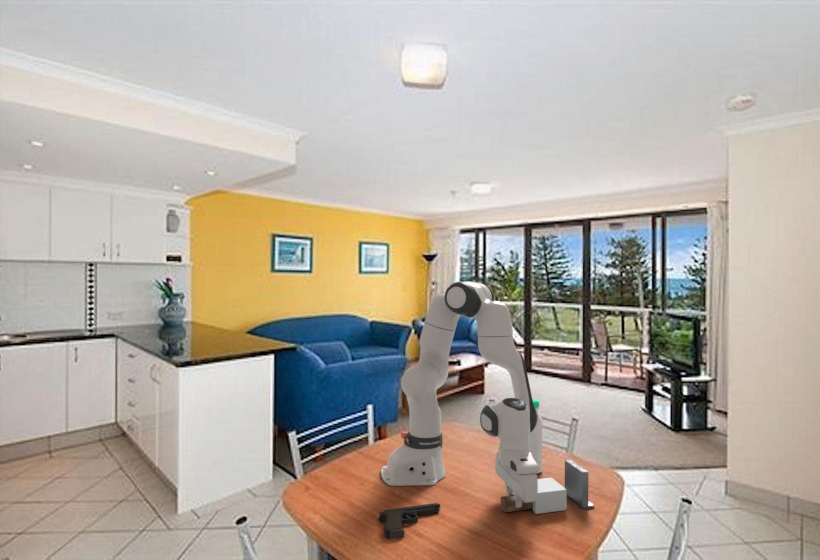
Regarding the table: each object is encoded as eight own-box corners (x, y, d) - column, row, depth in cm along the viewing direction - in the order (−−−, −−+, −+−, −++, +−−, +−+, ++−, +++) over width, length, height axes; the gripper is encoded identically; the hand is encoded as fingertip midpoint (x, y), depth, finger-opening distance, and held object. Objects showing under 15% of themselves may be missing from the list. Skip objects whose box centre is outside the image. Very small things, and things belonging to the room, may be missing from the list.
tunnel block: (535, 514, 125) (535, 493, 125) (522, 500, 133) (522, 480, 133) (566, 509, 127) (566, 489, 127) (551, 496, 135) (551, 477, 135)
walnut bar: (505, 512, 125) (505, 501, 125) (500, 506, 128) (500, 496, 128) (548, 506, 128) (548, 496, 128) (543, 501, 131) (543, 491, 131)
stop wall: (582, 509, 128) (582, 472, 128) (564, 494, 137) (564, 460, 137) (594, 507, 129) (594, 471, 129) (575, 493, 138) (575, 458, 138)
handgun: (453, 521, 118) (438, 499, 129) (386, 531, 112) (376, 507, 124) (453, 531, 118) (438, 508, 129) (385, 542, 112) (376, 517, 124)
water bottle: (543, 475, 150) (543, 403, 150) (522, 473, 152) (522, 402, 152) (541, 467, 157) (541, 398, 157) (521, 465, 159) (521, 397, 159)
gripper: (490, 443, 137) (490, 487, 137) (520, 471, 117) (520, 522, 117) (508, 442, 138) (508, 485, 138) (541, 469, 119) (541, 519, 118)
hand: (514, 502), depth 128 cm, fingers closed on walnut bar, 3 cm apart
